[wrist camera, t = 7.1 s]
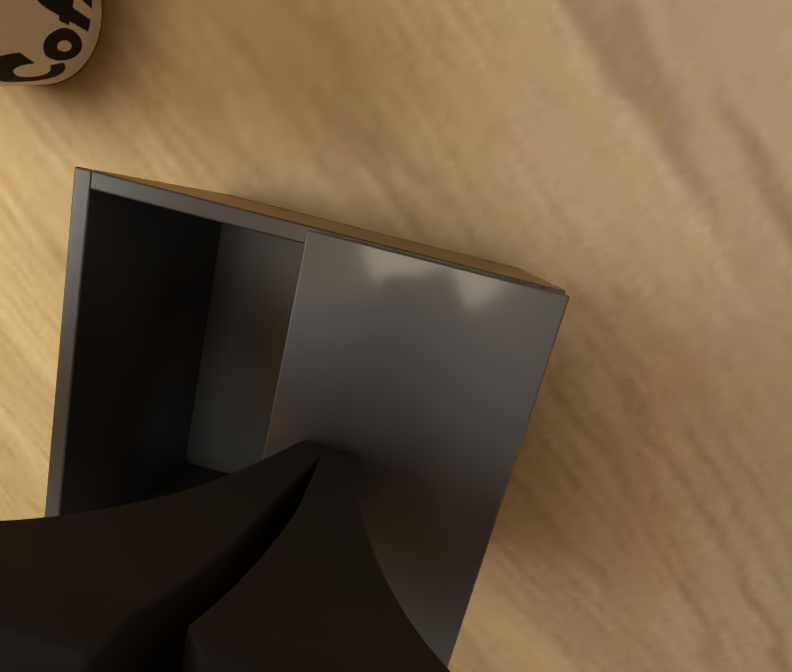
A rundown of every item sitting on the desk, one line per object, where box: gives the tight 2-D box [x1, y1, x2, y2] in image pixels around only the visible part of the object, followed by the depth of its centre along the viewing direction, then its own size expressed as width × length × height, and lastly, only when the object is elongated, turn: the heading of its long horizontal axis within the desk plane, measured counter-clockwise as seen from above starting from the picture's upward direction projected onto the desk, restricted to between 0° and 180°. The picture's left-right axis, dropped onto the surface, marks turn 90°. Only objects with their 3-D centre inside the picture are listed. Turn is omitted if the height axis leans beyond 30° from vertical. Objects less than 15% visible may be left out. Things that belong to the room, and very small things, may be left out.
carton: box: [45, 167, 565, 517], centre depth 15 cm, size 11×11×7 cm
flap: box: [263, 230, 569, 667], centre depth 11 cm, size 11×5×1 cm, turn 166°
